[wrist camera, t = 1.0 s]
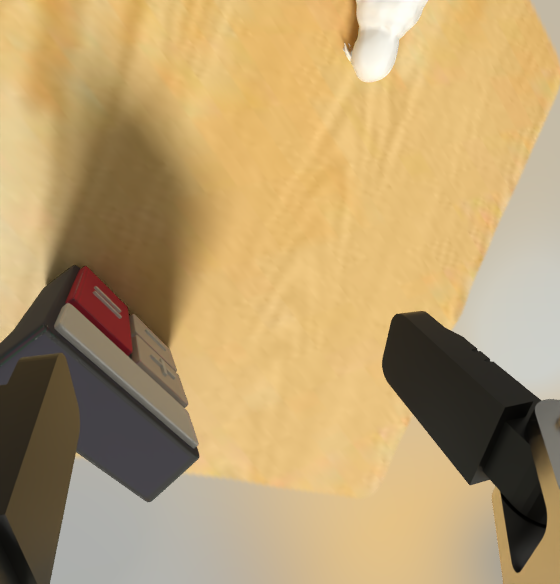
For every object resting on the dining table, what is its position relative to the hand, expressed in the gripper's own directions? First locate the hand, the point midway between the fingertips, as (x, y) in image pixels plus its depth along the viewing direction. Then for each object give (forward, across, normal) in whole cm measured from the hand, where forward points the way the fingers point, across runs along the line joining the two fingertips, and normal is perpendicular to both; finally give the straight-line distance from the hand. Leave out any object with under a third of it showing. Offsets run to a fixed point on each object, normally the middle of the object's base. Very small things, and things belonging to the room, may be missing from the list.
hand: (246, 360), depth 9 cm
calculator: (+22, +6, +12) cm, 26 cm away
